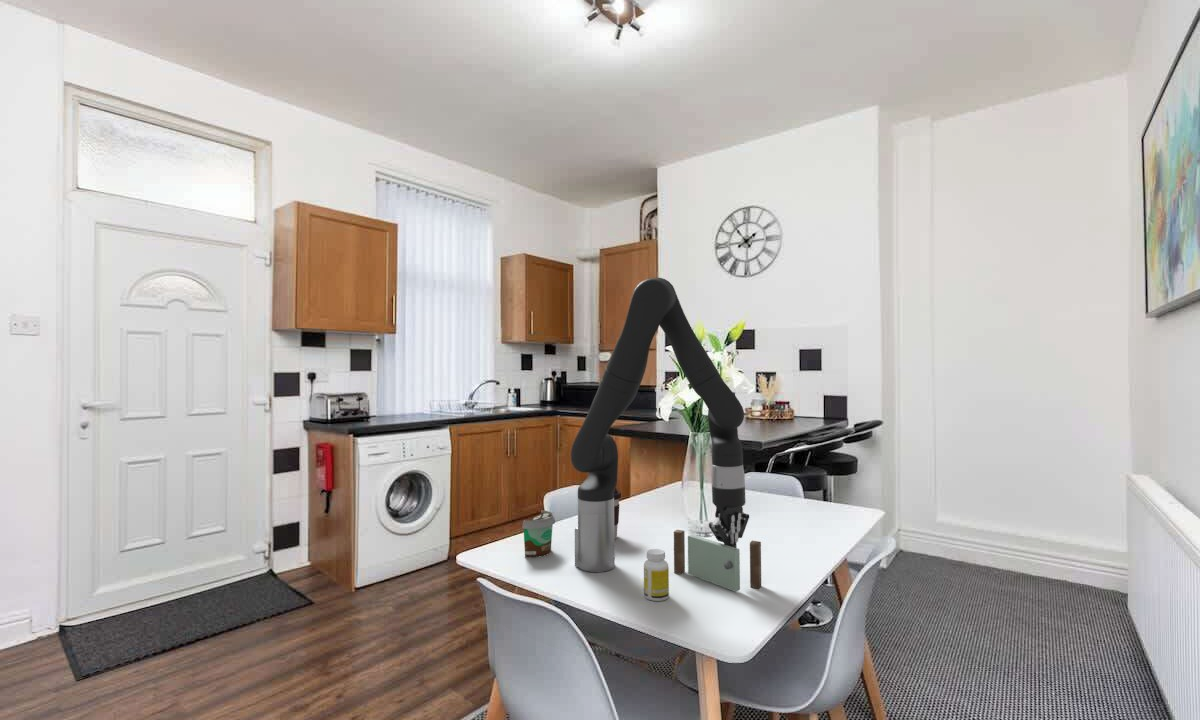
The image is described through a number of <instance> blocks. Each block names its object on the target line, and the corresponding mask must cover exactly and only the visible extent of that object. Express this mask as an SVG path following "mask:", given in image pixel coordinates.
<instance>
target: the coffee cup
mask: <svg viewBox="0 0 1200 720" xmlns="http://www.w3.org/2000/svg"><path fill="white" fill-rule="evenodd" d="M621 498H622V492H621V490H618V489H617V487H616V488H615V491H614V540H616V539H617V537H618V525H619V523H620V522H619V521H620V520H619V516H620V499H621Z"/></svg>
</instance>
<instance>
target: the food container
mask: <svg viewBox="0 0 1200 720" xmlns="http://www.w3.org/2000/svg"><path fill="white" fill-rule="evenodd" d="M555 523H556V519H555V516H554V514H553V512H551V511H549V510H544V509H543V510H542V509H541V510H540V514H538V515H535V516H532V517H531V518H530V519H529V520H526V519H525V520H523V522H522V529H523V542H524V544H523V545H524V558H529V557H531V558H540V557H539V556H542V557H545V556H548V555H549V554H551V552H552V541H553V540H552V537H553V525H554V524H555ZM547 554H548V555H547ZM544 555H545V556H544Z"/></svg>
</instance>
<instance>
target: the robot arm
mask: <svg viewBox="0 0 1200 720" xmlns="http://www.w3.org/2000/svg"><path fill="white" fill-rule="evenodd" d="M659 327H660V328H661V330H662V331H663V333H664V334H665V336H666V338H667V340H668V341H669V343H670V346H671V348H672V351H673V353H674V355H675V358H676V360H677V363H678V365H679V367H680V370H681V371H682V374H683V375H684V376H685V378H686V380H687V381H688V383H689V385H690V386H691V388H692V390H693V391H694V392H695V393H696V395H697V396H699V397H700V398H701V399H702V401H703V403H704V404H705V405H706V408H708V409H707V421H708V428H709V430H708V431H709V435H710V441H711V464H712V465H711V497H712V498H711V499H712V504H713V505H714V506H715V512H714V513H715V515H714V516H715V517H714V519H713V520H714V521H713V522H712V521H710V522H709V523H708V528H709V530H711V532H712V533H713V535H714V537H715V538H716V541H718V542H719V543H721V542H722V544H724V545H728V546H731V547H734V548H737V543H738V541H739V539H742V538H743V537H744V533H745V530H746V527H747V525H748V522H749V519H750V514H748V513H745V512H744V509H743V508H744V506H745V505H746V502H747V501H746V483H745V481H746V480H745V479H746V478H745V476H746V475H745V470H744V452H743V445H742V442H741V440H740V438H739V430H738V428H739V427H740V426H741V425H742V424H743V421H744V419H745V411H744V407H743V406H742V404H741V402H740V401H739V399H738V398H737V396H736V395H735V393H734V391H732V390H731V388H730V387H729V386H728V384H727V383H726V382H725V381H724V380H723V378H722V376H721V374H720V373H719V370H718V369H717V367H716V366H715V363H714V362H713V361H712V359H711V357H710V356H709V354H708V353H707V351H706V350H705V348H704V347H703V345H702V343H701V342H700V340H699V339H698V337H697V335H696V334H695V331H694V330H693V328H692V327H691V325H690V322H689V321H688V318H687V316H686V313H685V312H684V310H683V307H682V305H681V303H680V299H679V297H678V295H677V292H676V290H675V287H674V286H673V284H672V282H670V281H669V280H667V279H666V278H664V277H663V278H662V277H651V278H647V279H645V280H642V281H641V282H639V284H637V286H636V287H635V288H634V290H633V292H632V296H631V298H630V302H629V307H628V310H627V315H626V319H625V322H624V325H623V328H622V331H621V333H620V336H619V337H618V339H617V341H616V344H615V345H614V349H613V350H612V352H611V355H610V357H609V359H608V362H607V363H606V367H605V369H604V371H603V374H602V377H601V379H600V382H599V385H598V388H597V391H596V394H595V395H594V398H593V400H592V402H591V405H590V407H589V409H588V411H587V415H586V417H585V419H584V421H583V422H582V425H581V426H580V428H579V429H578V432H577V434H576V436H575V438H574V441H573V442H572V446H571V450H570V461H571V464H572V466H573V468H574V469H575V470H576V471H578V472H580V473H585V474H586V473H588V475H587V477H586V478H585V480H584V481H583V482H582V483H580V485H579V486H578V488H577V527H575V528H574V566H575V567H577V568H579V570H582V571H585V572H591V573H602V572H608V571H610V570H613V568H614V567H615V561H616V560H615V551H616V550H615V549H616V548H615V539H614V491H615V488H616V489H617V484H618V473H619V472H618V470H619V469H618V468H619V452H618V446H617V443H616V441H615V439H614V438H613V436H612V435H610V434H609V430H610V429H611V427H612V426H613V424H614V423H615V422H616V421H617V419H619V417H620V416H621V415H622V414H623V413H624V412H625V410H627V409H628V408H629V406H630V405H631V404H632V402H633V400H635V398H636V396H637V393H638V391H639V388H640V386H641V383H642V381H643V379H644V376H645V373H646V369H647V365H648V359H649V352H650V348H651V344H652V342H653V340H654V337H655V335H656V333H657V330H658V329H659Z"/></svg>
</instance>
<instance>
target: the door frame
mask: <svg viewBox="0 0 1200 720" xmlns="http://www.w3.org/2000/svg"><path fill="white" fill-rule="evenodd" d="M685 537H686V536H685V530H683V529H676V530H674V531H673V573H674V574H676V575H677V574H679V575H683V574H684V573H685V571H686V560H685V559H686V558H685V556H686V555H685V552H686V551H685V550H686V549H685V547H686V546H685V545H686V544H685V543H686V542H685ZM749 578H750V579H749V586H750V588H752V589H757V590H760V589H761V587H762V542H761V541H757V540H751V541H750V542H749Z"/></svg>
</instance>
